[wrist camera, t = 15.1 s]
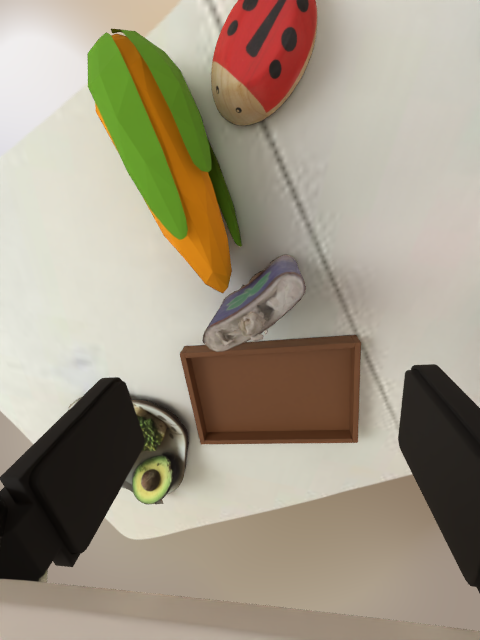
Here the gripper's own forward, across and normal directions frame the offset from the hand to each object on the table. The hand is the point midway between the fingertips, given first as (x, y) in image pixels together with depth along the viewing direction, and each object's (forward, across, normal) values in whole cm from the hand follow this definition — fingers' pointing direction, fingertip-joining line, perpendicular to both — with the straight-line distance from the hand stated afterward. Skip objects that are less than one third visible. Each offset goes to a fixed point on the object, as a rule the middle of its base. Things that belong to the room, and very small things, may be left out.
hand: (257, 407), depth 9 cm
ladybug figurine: (+21, -1, -17) cm, 27 cm away
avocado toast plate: (+20, +21, +22) cm, 36 cm away
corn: (+20, +7, -9) cm, 23 cm away
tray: (+20, +1, +14) cm, 24 cm away
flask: (+20, +2, +1) cm, 20 cm away
